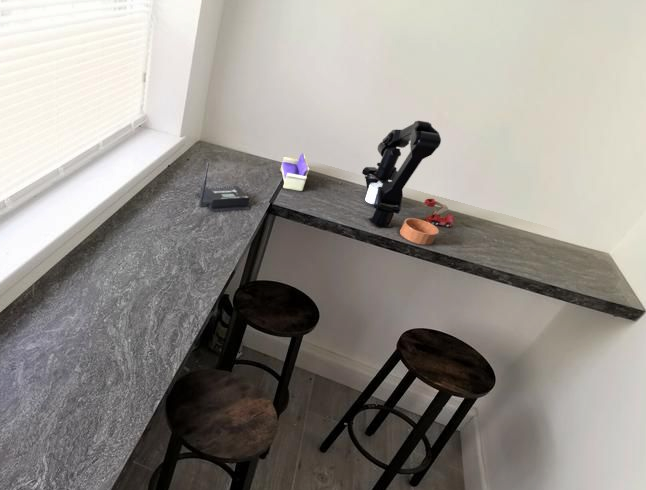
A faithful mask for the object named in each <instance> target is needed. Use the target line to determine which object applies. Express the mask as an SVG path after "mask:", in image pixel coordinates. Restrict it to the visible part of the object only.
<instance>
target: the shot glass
mask: <svg viewBox="0 0 646 490" xmlns="http://www.w3.org/2000/svg"><path fill="white" fill-rule="evenodd" d="M382 185H383V183H379V182H377V183H370V185H369V189H368V192H367V191H366V196H365V199H364V201H365V202H367V203H368V204H371V205H374V202H375V199H376V195H377V192H378V187H382Z"/></svg>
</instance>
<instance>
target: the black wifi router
mask: <svg viewBox="0 0 646 490" xmlns="http://www.w3.org/2000/svg"><path fill="white" fill-rule="evenodd" d="M209 166H210V163H209V162H207V164H206V169H205V175H204V179H203V181H202V185H201V186H202V187H201V188H200V191H199V192H200V193H199V194H198V197H199V202H198V206H199V207H202V206H208V208H209V209H210V210H211V211H212V212H225V211H226V212H227V211H241V210H250V207H249V203H250V200H251V197H250V196H249V195H248V194H247V193H246V192H245V191H244V190H243V189H241V188H240V187H239V186H238V185H233V186H227V187H226V186H222V187H221V186H220V187H217V186H216V187H207V178H208V171H209V168H210V167H209Z"/></svg>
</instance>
